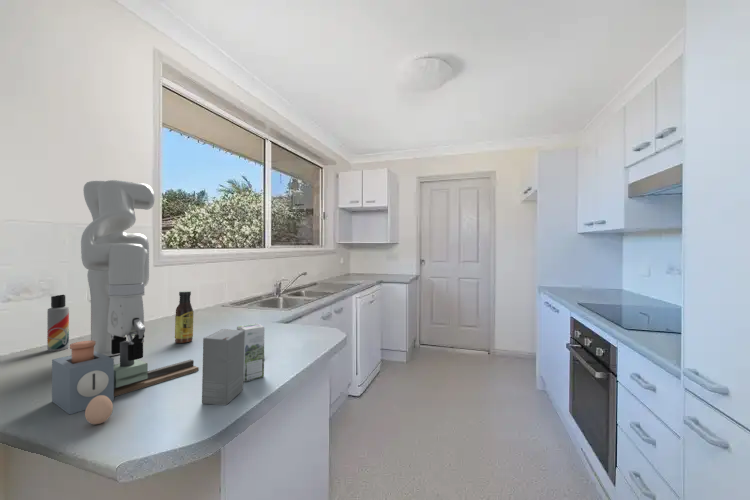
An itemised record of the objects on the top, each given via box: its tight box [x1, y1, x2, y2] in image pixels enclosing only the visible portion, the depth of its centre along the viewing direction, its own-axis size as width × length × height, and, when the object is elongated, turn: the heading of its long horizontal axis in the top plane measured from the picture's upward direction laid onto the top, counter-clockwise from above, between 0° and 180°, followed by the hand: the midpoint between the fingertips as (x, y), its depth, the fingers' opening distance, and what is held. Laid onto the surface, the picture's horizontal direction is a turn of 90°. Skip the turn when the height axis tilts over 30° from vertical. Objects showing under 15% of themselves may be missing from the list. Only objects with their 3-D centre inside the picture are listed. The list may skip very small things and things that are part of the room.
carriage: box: [114, 340, 149, 388], centre depth 87 cm, size 6×7×10 cm
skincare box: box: [201, 328, 245, 406], centre depth 81 cm, size 8×7×16 cm
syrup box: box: [236, 323, 265, 383], centre depth 94 cm, size 6×6×14 cm
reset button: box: [69, 340, 96, 364], centre depth 79 cm, size 5×5×5 cm
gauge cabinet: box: [51, 351, 115, 415], centre depth 79 cm, size 13×8×10 cm, turn 58°
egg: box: [84, 395, 114, 425], centre depth 69 cm, size 4×4×6 cm
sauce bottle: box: [174, 290, 194, 344], centre depth 131 cm, size 7×6×20 cm
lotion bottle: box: [46, 294, 70, 352], centre depth 122 cm, size 6×6×20 cm
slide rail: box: [114, 359, 199, 397], centre depth 92 cm, size 7×21×3 cm, turn 148°
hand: (127, 356), depth 87 cm, fingers open, 9 cm apart
